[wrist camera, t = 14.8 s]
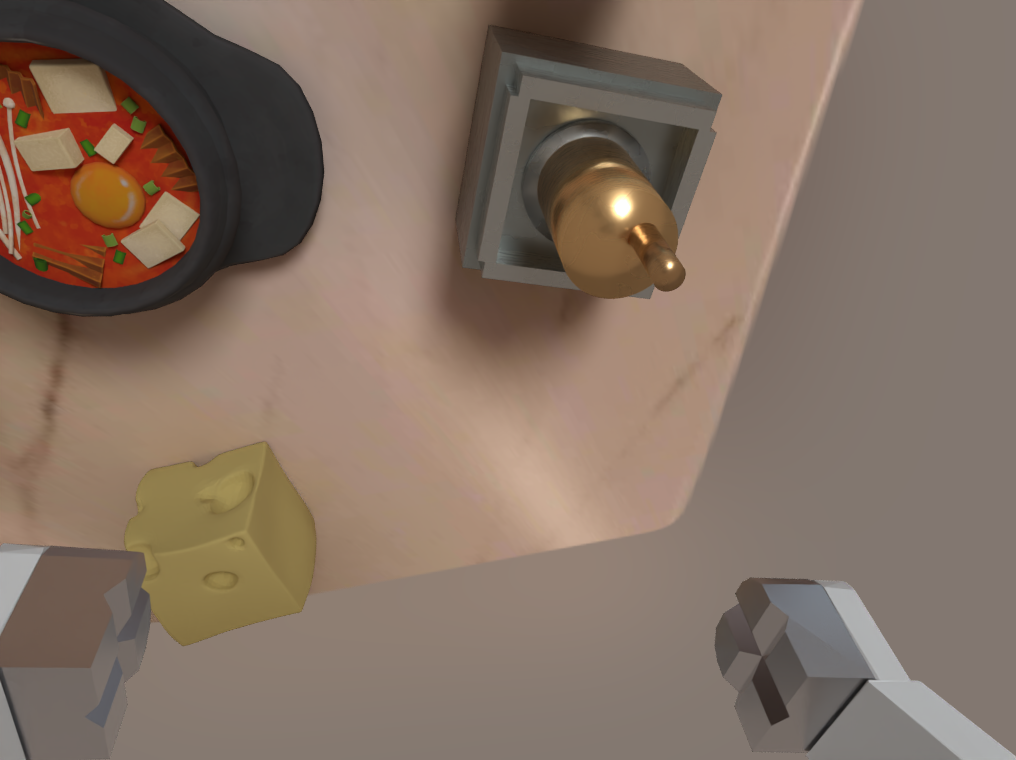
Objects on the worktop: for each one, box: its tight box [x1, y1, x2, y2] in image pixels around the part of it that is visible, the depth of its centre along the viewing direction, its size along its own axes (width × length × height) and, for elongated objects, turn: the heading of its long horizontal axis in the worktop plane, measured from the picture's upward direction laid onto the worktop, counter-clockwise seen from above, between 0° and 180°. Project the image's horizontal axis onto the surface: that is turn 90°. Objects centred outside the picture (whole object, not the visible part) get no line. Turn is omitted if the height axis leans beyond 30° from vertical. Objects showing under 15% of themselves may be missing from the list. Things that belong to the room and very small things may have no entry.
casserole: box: [0, 0, 324, 316], centre depth 39 cm, size 25×19×8 cm
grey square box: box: [456, 25, 722, 299], centre depth 43 cm, size 12×12×9 cm
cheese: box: [124, 442, 316, 646], centre depth 56 cm, size 10×11×10 cm
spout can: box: [537, 136, 686, 299], centre depth 36 cm, size 6×6×12 cm
